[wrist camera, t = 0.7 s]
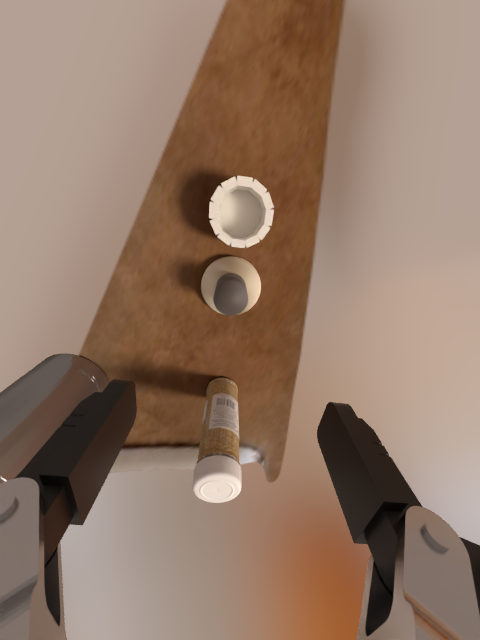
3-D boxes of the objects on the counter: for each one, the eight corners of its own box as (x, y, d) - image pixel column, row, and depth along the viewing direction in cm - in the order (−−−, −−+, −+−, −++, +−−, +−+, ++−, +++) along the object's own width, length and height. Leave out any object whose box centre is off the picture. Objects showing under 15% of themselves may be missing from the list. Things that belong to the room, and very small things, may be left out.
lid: (217, 320, 28) (214, 339, 24) (191, 270, 26) (182, 282, 21) (268, 299, 27) (275, 315, 23) (246, 245, 25) (249, 251, 20)
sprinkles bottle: (201, 391, 33) (181, 494, 20) (219, 370, 31) (210, 469, 19) (226, 405, 34) (222, 510, 22) (244, 386, 33) (252, 487, 20)
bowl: (226, 252, 25) (225, 257, 21) (202, 198, 22) (197, 195, 19) (275, 229, 24) (281, 231, 21) (255, 171, 22) (259, 163, 18)
